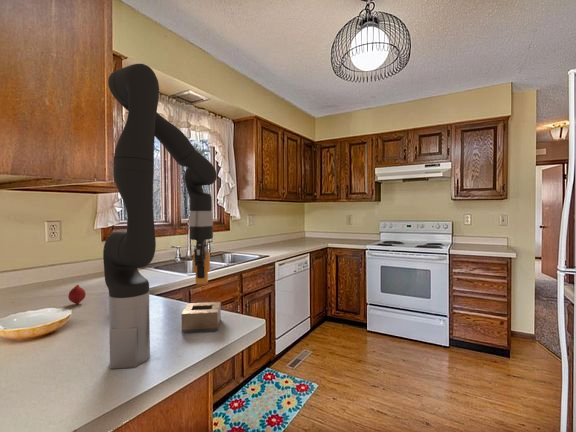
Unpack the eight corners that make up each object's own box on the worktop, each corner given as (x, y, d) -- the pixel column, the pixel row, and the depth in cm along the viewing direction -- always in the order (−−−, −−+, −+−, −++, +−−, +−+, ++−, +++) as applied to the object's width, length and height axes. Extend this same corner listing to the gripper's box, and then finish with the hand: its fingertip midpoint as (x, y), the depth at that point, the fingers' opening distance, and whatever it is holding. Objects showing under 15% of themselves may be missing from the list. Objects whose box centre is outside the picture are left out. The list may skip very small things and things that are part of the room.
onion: (76, 306, 123) (76, 286, 123) (64, 305, 124) (64, 286, 124) (89, 302, 129) (88, 283, 129) (77, 301, 130) (77, 282, 130)
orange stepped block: (209, 283, 100) (208, 253, 100) (193, 284, 100) (192, 253, 100) (210, 281, 103) (209, 252, 103) (194, 282, 103) (194, 252, 102)
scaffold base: (217, 331, 97) (217, 312, 97) (181, 333, 96) (181, 313, 96) (220, 319, 108) (220, 302, 108) (188, 321, 107) (188, 303, 106)
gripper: (210, 225, 95) (210, 281, 95) (215, 223, 109) (215, 272, 109) (185, 226, 94) (185, 282, 94) (193, 223, 108) (193, 272, 108)
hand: (201, 276), depth 101 cm, fingers closed on orange stepped block, 3 cm apart
